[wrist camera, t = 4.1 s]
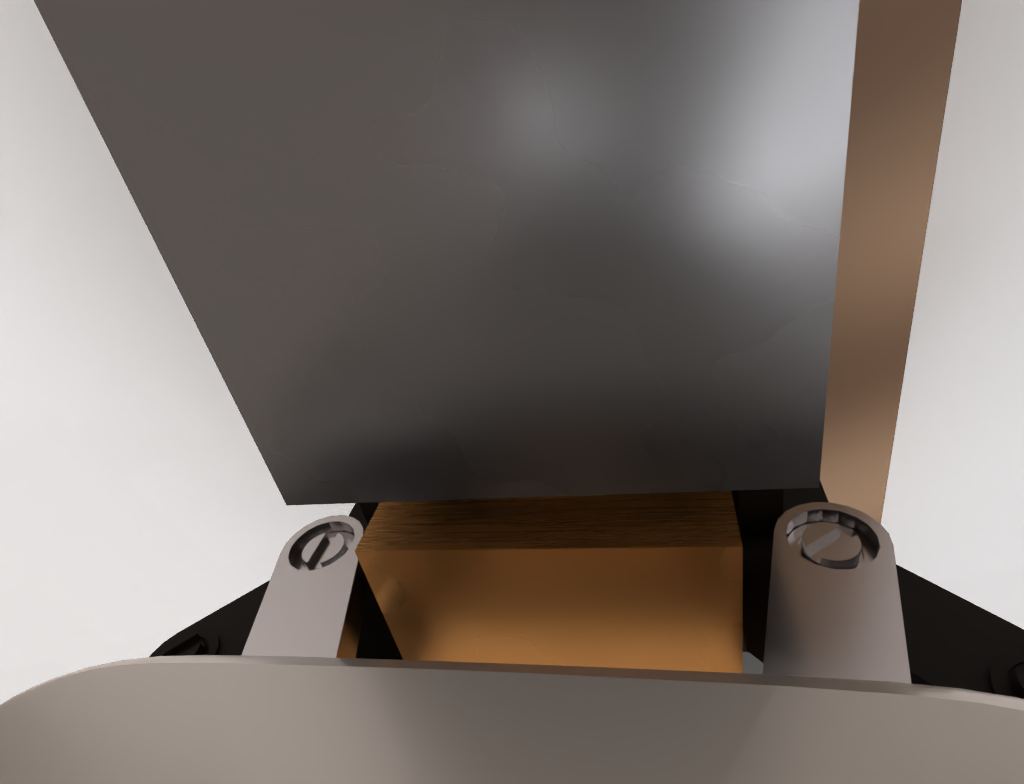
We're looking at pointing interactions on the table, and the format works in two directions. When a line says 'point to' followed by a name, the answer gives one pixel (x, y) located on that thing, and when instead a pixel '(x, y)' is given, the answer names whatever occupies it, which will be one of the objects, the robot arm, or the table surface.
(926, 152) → the board
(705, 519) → the tube
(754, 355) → the sleeve
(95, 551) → the table surface
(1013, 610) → the table surface
